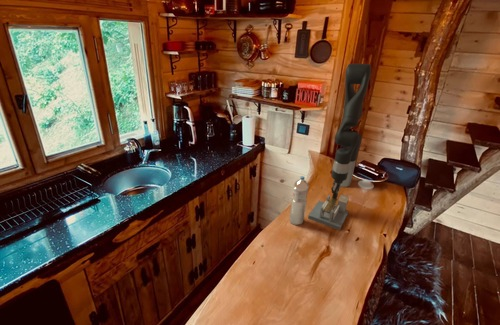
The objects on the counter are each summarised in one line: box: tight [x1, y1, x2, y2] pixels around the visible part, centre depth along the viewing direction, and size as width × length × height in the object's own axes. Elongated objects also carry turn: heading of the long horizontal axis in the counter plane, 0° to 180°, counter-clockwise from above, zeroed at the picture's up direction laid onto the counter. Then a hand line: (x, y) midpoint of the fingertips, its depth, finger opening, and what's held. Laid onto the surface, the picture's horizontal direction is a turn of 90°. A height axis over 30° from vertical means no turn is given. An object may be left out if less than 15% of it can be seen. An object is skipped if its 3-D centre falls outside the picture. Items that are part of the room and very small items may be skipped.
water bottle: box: [289, 175, 310, 226], centre depth 130 cm, size 7×7×25 cm
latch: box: [338, 193, 350, 204], centre depth 139 cm, size 3×4×3 cm
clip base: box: [307, 194, 350, 231], centre depth 138 cm, size 16×16×8 cm
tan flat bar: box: [324, 197, 339, 213], centre depth 138 cm, size 14×3×1 cm, turn 148°
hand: (334, 198), depth 142 cm, fingers closed
